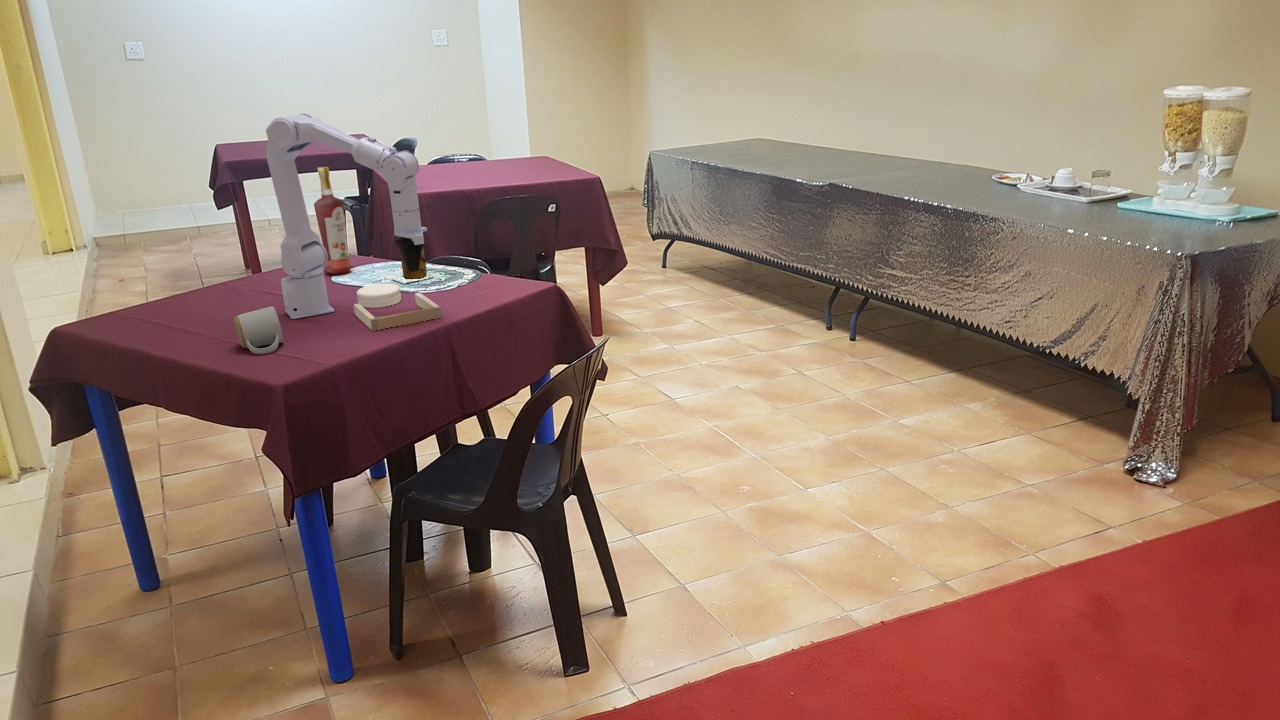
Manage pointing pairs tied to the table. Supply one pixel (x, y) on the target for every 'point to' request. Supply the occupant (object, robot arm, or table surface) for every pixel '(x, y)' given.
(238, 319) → the ceramic mug
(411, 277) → the condiment
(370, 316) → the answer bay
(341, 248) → the liquor
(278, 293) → the table surface
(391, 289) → the coaster
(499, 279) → the table surface
